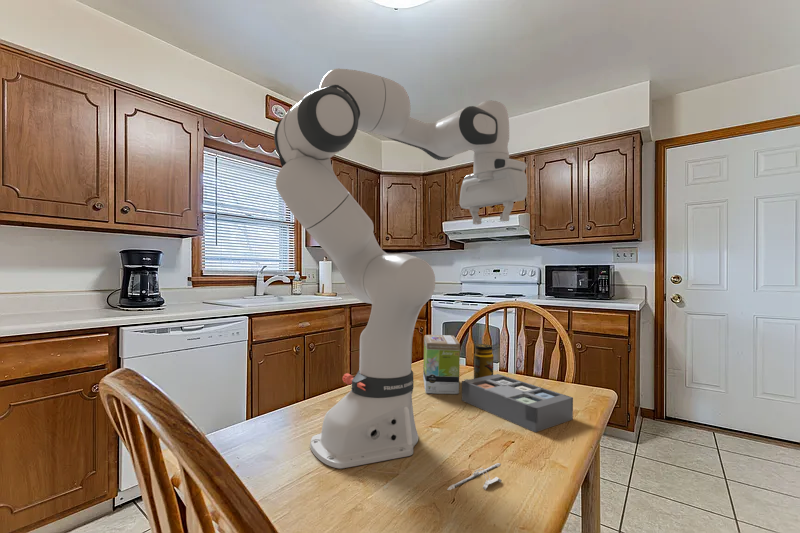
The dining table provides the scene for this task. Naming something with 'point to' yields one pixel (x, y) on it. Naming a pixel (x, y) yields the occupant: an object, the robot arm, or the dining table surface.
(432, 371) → the tea box
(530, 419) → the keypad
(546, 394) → the key blue
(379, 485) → the dining table surface
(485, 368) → the condiment
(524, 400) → the key sage
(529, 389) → the key cream
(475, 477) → the picture light
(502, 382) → the key grey
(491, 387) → the key terracotta
